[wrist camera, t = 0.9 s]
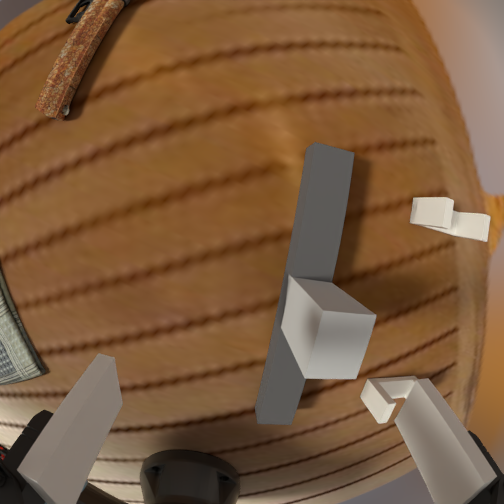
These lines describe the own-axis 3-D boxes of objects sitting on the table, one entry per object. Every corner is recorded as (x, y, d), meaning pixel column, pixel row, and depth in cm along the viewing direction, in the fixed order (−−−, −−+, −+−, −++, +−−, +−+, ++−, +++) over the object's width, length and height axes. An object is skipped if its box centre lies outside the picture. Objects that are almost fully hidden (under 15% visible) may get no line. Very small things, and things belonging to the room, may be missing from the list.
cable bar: (286, 409, 32) (309, 480, 20) (254, 408, 31) (267, 482, 20) (342, 157, 28) (407, 132, 16) (306, 148, 27) (356, 113, 16)
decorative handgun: (-12, 110, 21) (59, 116, 22) (84, -45, 17) (168, -56, 18) (2, 114, 24) (74, 123, 25) (91, -35, 20) (171, -42, 21)
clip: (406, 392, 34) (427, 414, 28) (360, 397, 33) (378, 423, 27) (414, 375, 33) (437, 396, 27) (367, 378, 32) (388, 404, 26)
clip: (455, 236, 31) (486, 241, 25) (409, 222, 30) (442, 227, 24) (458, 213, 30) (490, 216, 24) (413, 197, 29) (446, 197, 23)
